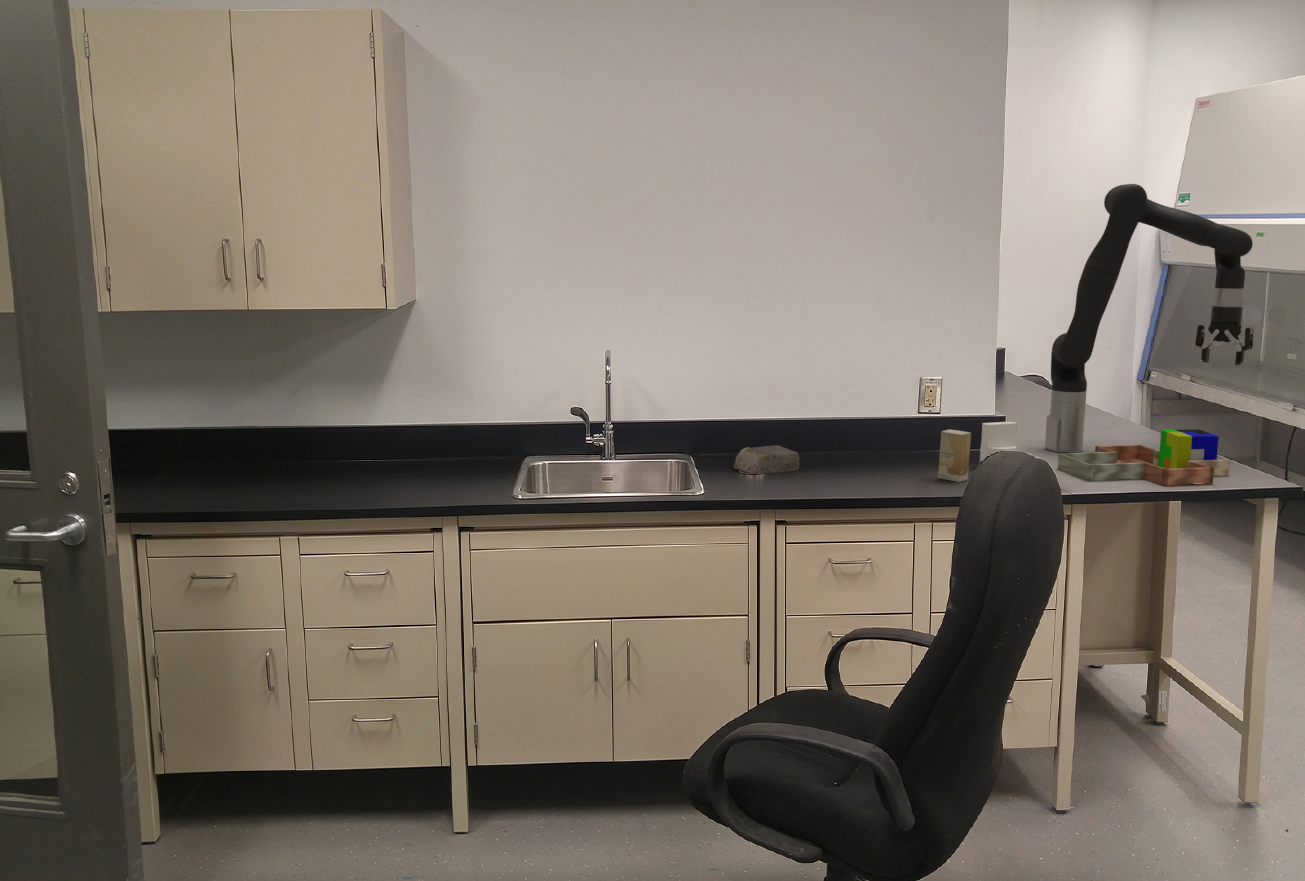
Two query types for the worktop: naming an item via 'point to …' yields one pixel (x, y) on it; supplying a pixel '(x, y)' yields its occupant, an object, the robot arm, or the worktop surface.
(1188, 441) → the puzzle toy
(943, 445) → the skincare box
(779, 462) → the geological specimen
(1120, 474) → the open sectioned tray
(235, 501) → the worktop surface
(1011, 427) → the base with upright slab
